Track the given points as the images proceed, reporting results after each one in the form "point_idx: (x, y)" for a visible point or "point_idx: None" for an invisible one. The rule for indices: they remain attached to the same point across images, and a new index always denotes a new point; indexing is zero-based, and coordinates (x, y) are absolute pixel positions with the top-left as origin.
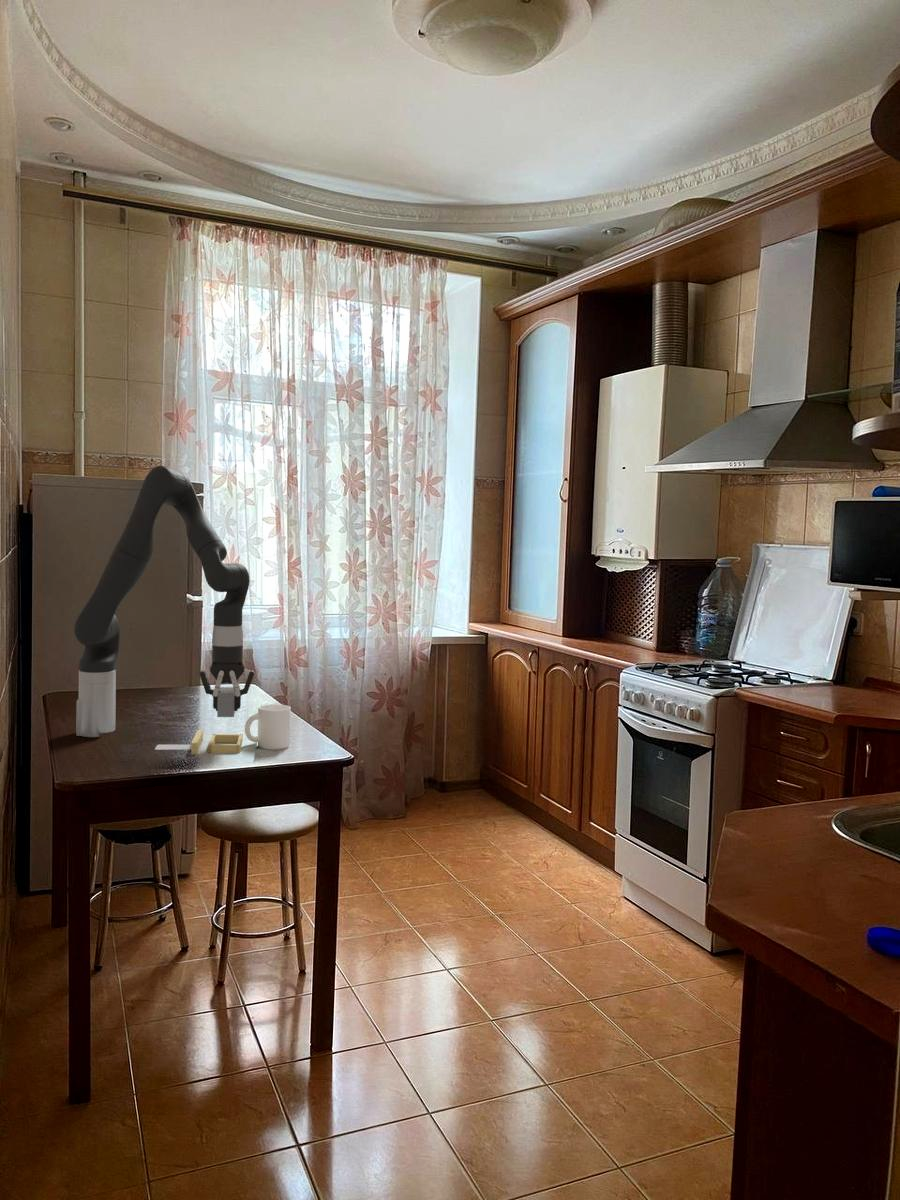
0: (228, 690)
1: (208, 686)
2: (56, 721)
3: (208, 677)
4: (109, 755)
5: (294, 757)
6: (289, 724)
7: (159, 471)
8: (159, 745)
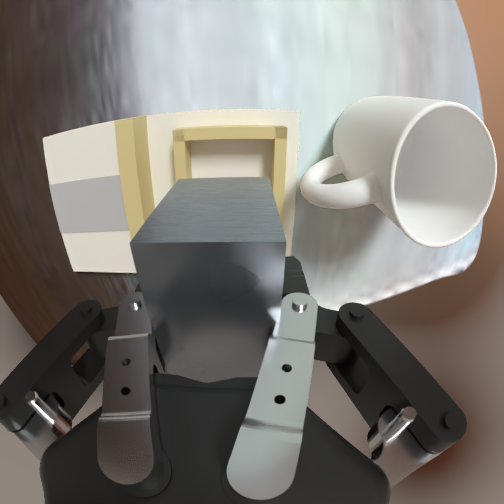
0: (227, 355)
1: (100, 382)
2: None
3: (70, 417)
4: (11, 241)
5: (401, 259)
6: (451, 184)
7: None
8: (55, 193)
